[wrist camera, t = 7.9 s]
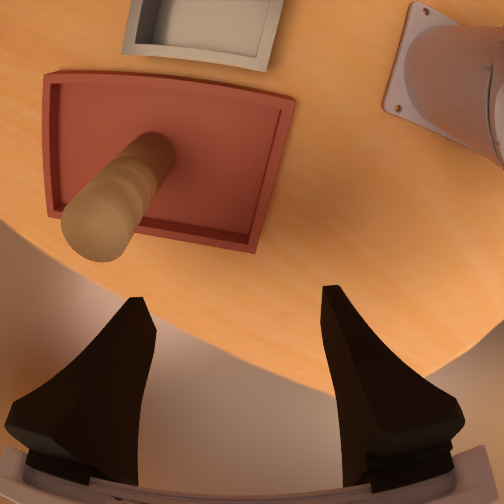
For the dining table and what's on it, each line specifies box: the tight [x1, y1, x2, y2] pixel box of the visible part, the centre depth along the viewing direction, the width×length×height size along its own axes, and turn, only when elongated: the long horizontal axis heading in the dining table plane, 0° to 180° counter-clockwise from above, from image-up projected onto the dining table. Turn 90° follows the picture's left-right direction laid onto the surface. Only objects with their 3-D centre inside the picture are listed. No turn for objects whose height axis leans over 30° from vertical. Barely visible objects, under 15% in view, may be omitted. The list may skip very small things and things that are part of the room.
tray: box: [42, 71, 296, 254], centre depth 19 cm, size 15×10×2 cm
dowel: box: [61, 132, 176, 262], centre depth 15 cm, size 3×3×9 cm
